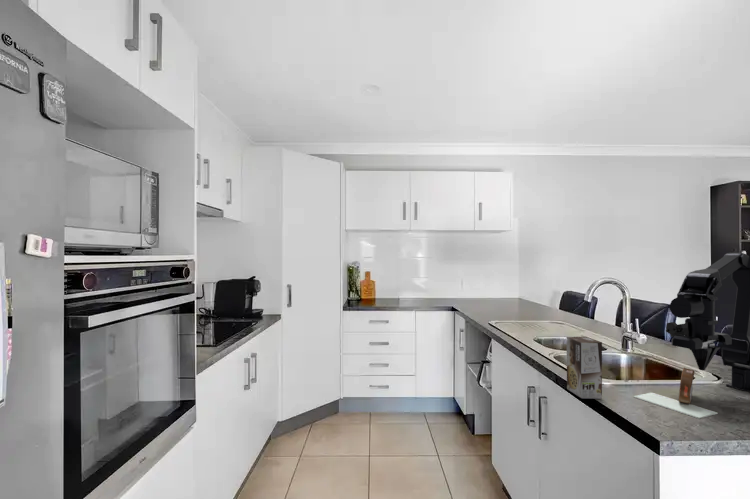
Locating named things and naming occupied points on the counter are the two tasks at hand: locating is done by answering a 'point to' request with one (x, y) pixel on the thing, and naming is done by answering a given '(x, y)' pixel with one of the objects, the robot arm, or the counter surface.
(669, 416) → the counter surface
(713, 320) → the robot arm
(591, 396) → the coffee box
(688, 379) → the tin
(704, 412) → the mat
